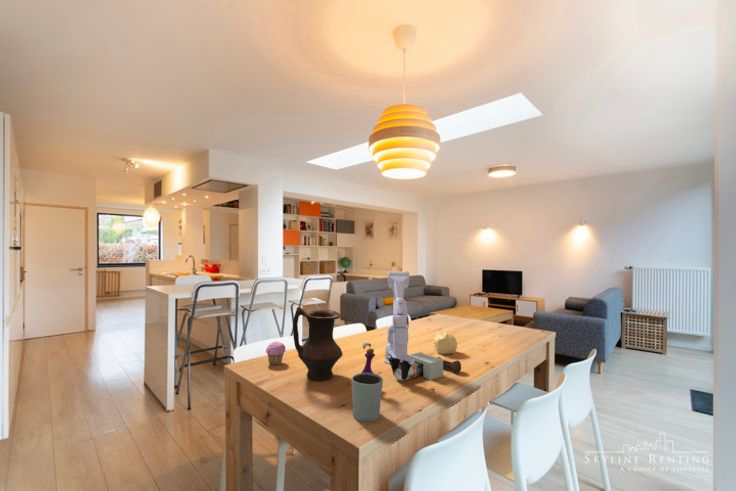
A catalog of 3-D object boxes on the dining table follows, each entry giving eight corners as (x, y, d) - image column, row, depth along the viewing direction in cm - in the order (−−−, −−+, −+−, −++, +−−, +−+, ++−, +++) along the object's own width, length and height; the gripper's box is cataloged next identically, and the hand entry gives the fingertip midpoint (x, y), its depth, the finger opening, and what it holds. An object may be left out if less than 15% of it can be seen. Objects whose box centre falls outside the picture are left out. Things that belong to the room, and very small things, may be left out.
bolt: (431, 368, 158) (459, 375, 147) (425, 365, 155) (453, 372, 144) (434, 356, 160) (462, 362, 150) (429, 352, 158) (457, 359, 147)
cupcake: (273, 359, 163) (273, 338, 163) (289, 361, 160) (289, 340, 160) (262, 365, 154) (262, 343, 154) (278, 367, 151) (278, 345, 152)
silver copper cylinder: (393, 379, 138) (393, 365, 139) (417, 372, 147) (417, 359, 147) (402, 383, 134) (402, 369, 134) (426, 376, 142) (426, 362, 142)
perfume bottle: (365, 384, 133) (366, 339, 134) (380, 389, 129) (381, 342, 129) (353, 390, 128) (353, 342, 128) (368, 395, 123) (368, 346, 123)
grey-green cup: (347, 410, 111) (347, 374, 111) (375, 406, 115) (375, 370, 115) (357, 425, 102) (357, 386, 102) (387, 420, 105) (388, 381, 105)
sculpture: (432, 349, 182) (432, 329, 183) (454, 349, 182) (454, 329, 182) (435, 355, 171) (435, 334, 171) (459, 356, 171) (459, 335, 171)
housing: (408, 371, 149) (408, 355, 149) (420, 367, 154) (421, 352, 154) (430, 380, 138) (430, 363, 138) (443, 376, 143) (443, 359, 143)
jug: (335, 366, 153) (336, 301, 154) (347, 381, 136) (348, 307, 137) (288, 372, 146) (289, 303, 146) (295, 388, 129) (296, 310, 129)
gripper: (381, 341, 141) (381, 373, 140) (405, 349, 129) (405, 385, 129) (394, 338, 145) (393, 370, 145) (418, 346, 133) (418, 381, 133)
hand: (400, 377), depth 137 cm, fingers closed on silver copper cylinder, 5 cm apart
